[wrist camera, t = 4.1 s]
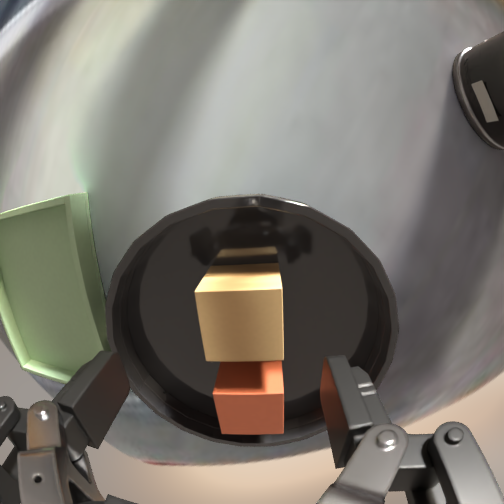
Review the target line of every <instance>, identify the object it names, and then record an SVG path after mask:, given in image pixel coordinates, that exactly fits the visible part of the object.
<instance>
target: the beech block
mask: <svg viewBox="0 0 504 504" xmlns="http://www.w3.org/2000/svg"><path fill="white" fill-rule="evenodd" d="M195 299H196V306H197V312H198V318H199V324H200V330H201V336H202V342H203V347H204V353H205V358H206V361H219V362H241V361H275V360H284V335H283V291H282V283H281V276H280V270H279V264H278V263H263V264H243V265H222V266H210V268H209V269H208V271H207V273H206V274H205V276H204V277H203V279H202V280H201V282H200V284H199V285H198V287H197V288H196V290H195Z"/></svg>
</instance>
